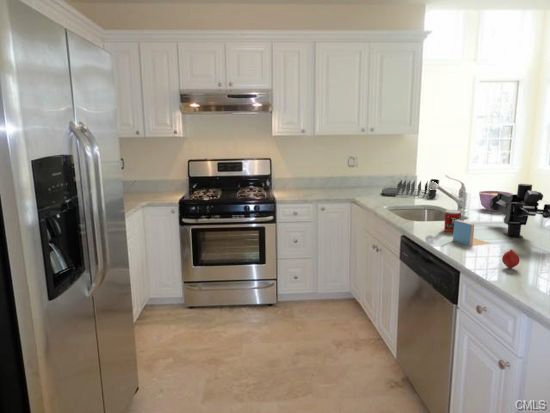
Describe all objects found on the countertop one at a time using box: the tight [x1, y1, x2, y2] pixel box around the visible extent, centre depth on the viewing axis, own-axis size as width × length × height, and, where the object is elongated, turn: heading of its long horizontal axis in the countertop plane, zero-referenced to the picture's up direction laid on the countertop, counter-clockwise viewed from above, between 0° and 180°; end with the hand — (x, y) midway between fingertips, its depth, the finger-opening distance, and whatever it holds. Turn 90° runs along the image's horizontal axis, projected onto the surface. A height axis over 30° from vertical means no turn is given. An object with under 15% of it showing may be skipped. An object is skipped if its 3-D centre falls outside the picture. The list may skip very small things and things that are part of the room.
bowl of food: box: [478, 190, 513, 212], centre depth 260 cm, size 20×20×12 cm
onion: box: [501, 248, 520, 269], centre depth 152 cm, size 6×6×8 cm
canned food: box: [443, 209, 462, 233], centre depth 208 cm, size 8×8×11 cm
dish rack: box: [381, 178, 440, 199], centre depth 326 cm, size 34×44×12 cm
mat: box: [451, 237, 490, 247], centre depth 189 cm, size 12×12×1 cm
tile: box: [452, 220, 475, 246], centre depth 186 cm, size 2×10×10 cm, turn 20°
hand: (540, 214), depth 171 cm, fingers open, 9 cm apart
